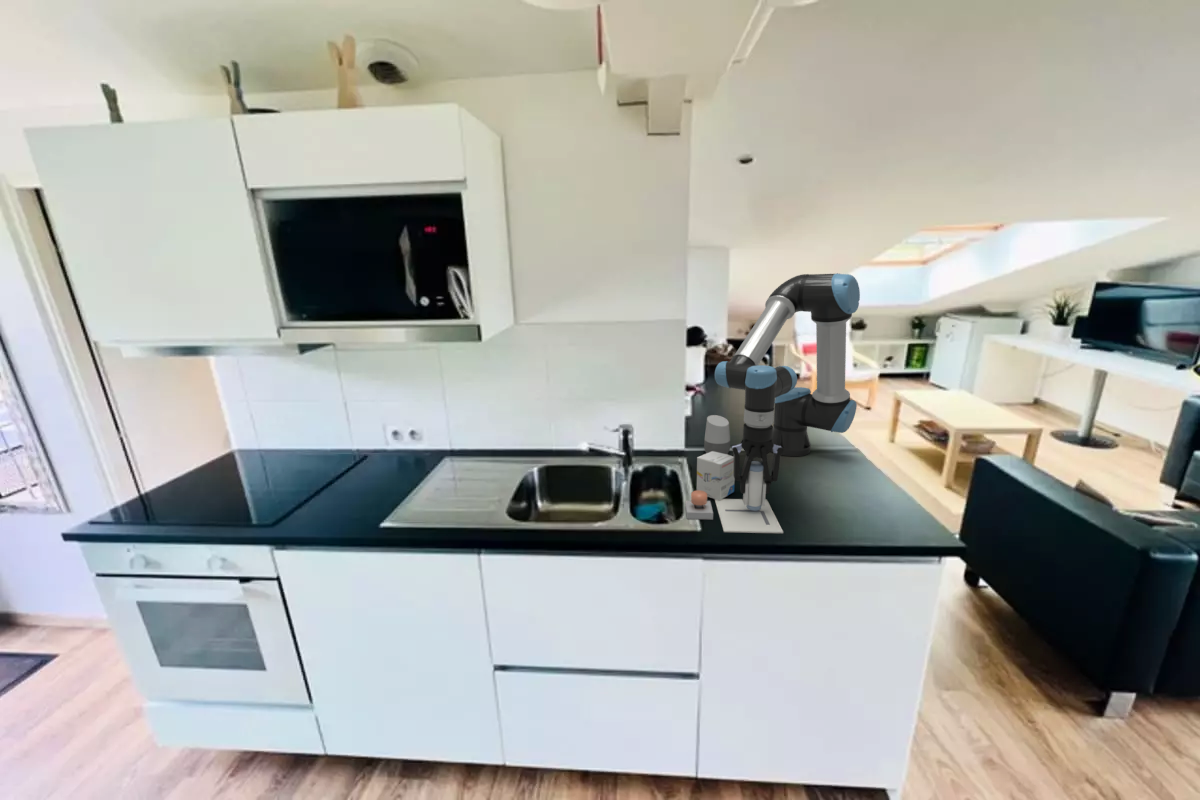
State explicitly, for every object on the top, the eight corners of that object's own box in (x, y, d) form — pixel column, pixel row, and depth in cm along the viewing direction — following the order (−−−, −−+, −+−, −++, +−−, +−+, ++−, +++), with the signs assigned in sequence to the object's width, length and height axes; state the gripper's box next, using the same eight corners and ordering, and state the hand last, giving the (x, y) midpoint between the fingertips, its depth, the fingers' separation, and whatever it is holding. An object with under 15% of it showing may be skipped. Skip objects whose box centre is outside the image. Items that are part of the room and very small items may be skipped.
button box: (685, 506, 140) (685, 500, 140) (709, 507, 140) (710, 500, 139) (687, 518, 134) (687, 512, 133) (712, 519, 133) (713, 512, 132)
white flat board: (714, 500, 144) (714, 498, 144) (766, 500, 142) (766, 499, 142) (723, 532, 127) (724, 530, 126) (783, 533, 125) (783, 531, 125)
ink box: (711, 484, 154) (712, 449, 151) (734, 492, 148) (736, 455, 145) (695, 493, 148) (696, 456, 145) (719, 501, 142) (720, 463, 139)
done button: (690, 504, 139) (690, 490, 137) (705, 504, 138) (706, 490, 137) (691, 511, 134) (691, 497, 133) (707, 511, 134) (708, 497, 133)
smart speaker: (718, 460, 172) (720, 423, 169) (698, 453, 179) (699, 417, 176) (735, 454, 178) (736, 417, 174) (714, 447, 185) (716, 412, 181)
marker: (744, 503, 138) (746, 461, 134) (759, 503, 137) (762, 461, 134) (747, 510, 134) (749, 467, 131) (762, 510, 134) (765, 467, 130)
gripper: (727, 428, 127) (724, 509, 133) (795, 428, 125) (788, 510, 131) (723, 419, 134) (720, 496, 140) (787, 419, 132) (781, 497, 138)
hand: (753, 503), depth 135 cm, fingers closed on marker, 4 cm apart
